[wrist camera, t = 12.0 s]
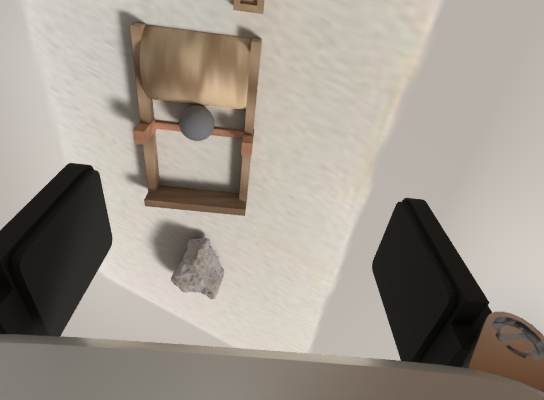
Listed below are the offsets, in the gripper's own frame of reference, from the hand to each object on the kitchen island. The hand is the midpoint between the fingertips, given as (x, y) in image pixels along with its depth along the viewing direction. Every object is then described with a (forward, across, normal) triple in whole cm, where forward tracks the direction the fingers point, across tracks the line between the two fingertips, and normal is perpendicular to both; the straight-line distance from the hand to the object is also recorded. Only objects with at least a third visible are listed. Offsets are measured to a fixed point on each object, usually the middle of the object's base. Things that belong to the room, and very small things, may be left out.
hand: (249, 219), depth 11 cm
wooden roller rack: (+30, +7, +12) cm, 33 cm away
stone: (+30, +7, +28) cm, 42 cm away
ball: (+27, +7, +8) cm, 29 cm away
